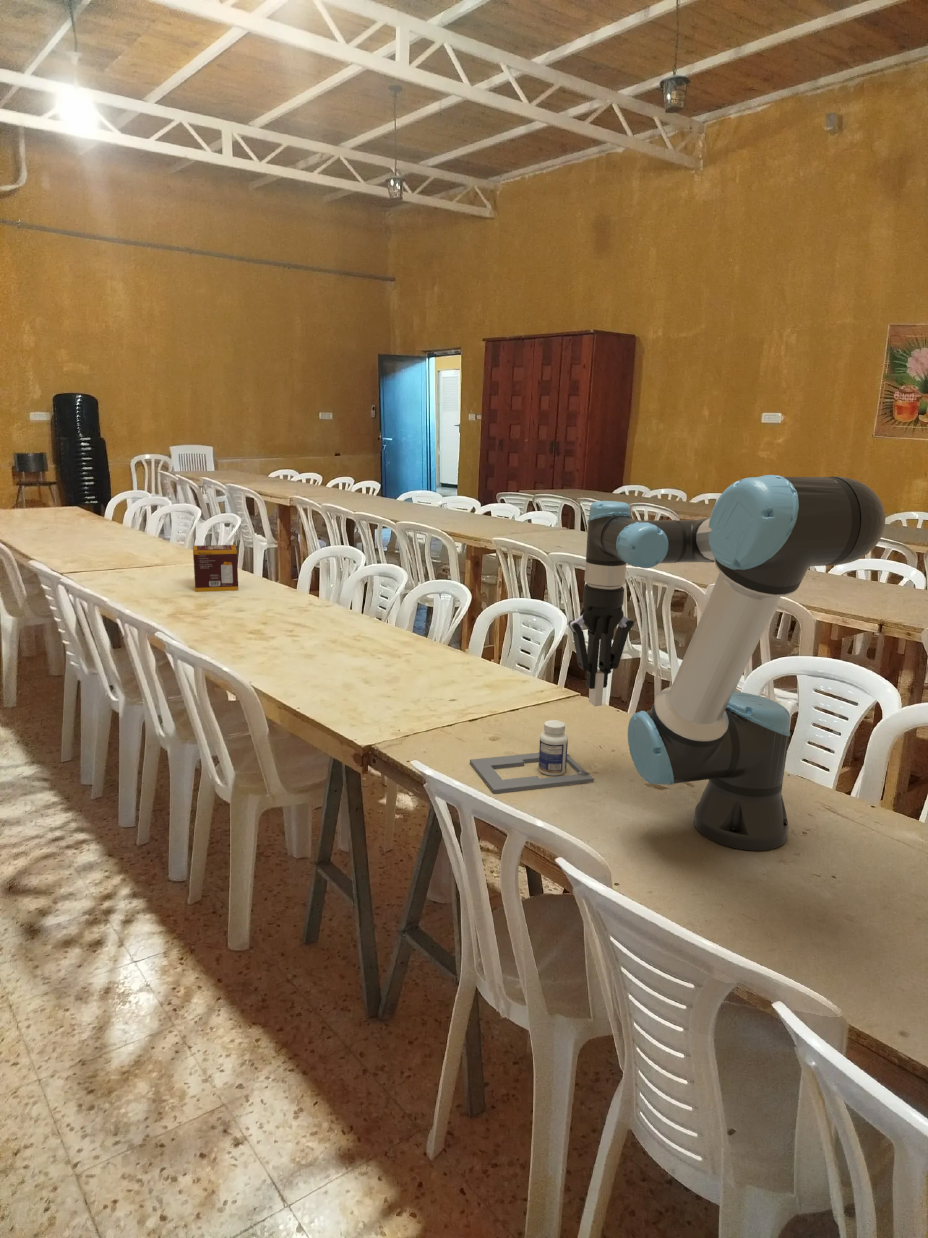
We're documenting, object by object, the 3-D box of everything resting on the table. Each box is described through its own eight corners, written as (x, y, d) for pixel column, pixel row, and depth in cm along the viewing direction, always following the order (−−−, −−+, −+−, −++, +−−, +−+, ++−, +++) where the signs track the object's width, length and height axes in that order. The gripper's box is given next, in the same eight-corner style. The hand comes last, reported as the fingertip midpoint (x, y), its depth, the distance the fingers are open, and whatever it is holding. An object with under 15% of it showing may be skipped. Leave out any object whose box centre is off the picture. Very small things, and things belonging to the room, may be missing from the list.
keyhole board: (595, 782, 160) (595, 778, 160) (493, 793, 154) (493, 789, 154) (564, 753, 173) (565, 749, 173) (469, 763, 167) (469, 759, 167)
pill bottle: (548, 762, 168) (550, 716, 166) (571, 770, 165) (574, 723, 163) (532, 771, 164) (535, 723, 162) (555, 779, 161) (558, 731, 159)
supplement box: (194, 586, 318) (192, 545, 314) (237, 585, 323) (235, 544, 319) (195, 592, 308) (192, 549, 305) (238, 590, 313) (237, 548, 309)
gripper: (625, 579, 164) (616, 694, 170) (564, 581, 160) (556, 699, 166) (645, 587, 157) (634, 707, 163) (581, 590, 153) (572, 713, 159)
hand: (595, 703), depth 165 cm, fingers closed
